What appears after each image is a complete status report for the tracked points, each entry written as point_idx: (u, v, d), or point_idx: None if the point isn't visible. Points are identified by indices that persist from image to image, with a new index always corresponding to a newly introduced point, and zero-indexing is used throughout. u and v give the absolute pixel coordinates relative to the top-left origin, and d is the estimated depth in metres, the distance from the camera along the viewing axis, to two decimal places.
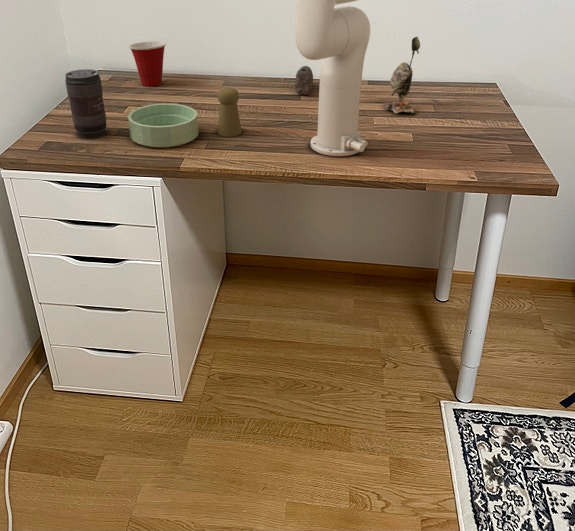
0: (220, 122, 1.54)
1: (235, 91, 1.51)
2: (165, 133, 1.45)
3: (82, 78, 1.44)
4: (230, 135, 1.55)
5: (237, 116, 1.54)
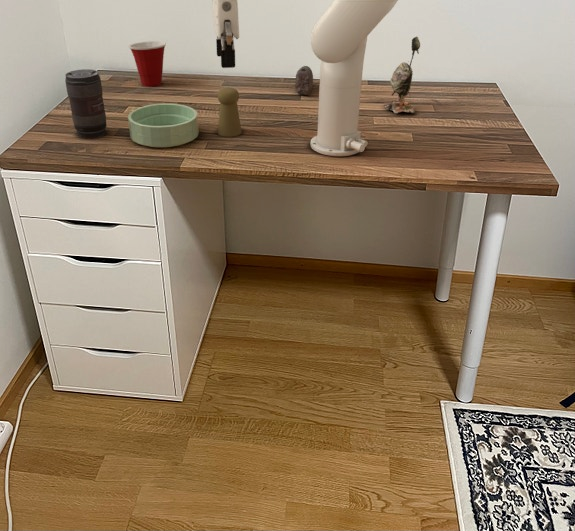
0: (220, 122, 1.54)
1: (235, 91, 1.51)
2: (165, 133, 1.45)
3: (82, 78, 1.44)
4: (230, 135, 1.55)
5: (237, 116, 1.54)
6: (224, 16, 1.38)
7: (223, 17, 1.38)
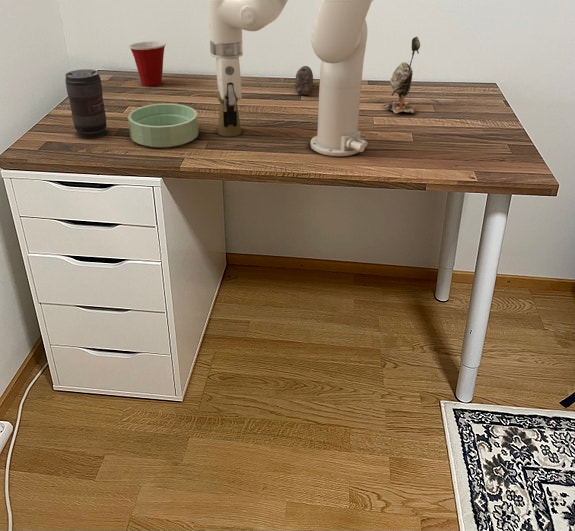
0: (220, 122, 1.54)
1: None
2: (165, 133, 1.45)
3: (82, 78, 1.44)
4: (230, 135, 1.55)
5: (237, 116, 1.54)
6: (227, 79, 1.45)
7: (226, 80, 1.45)
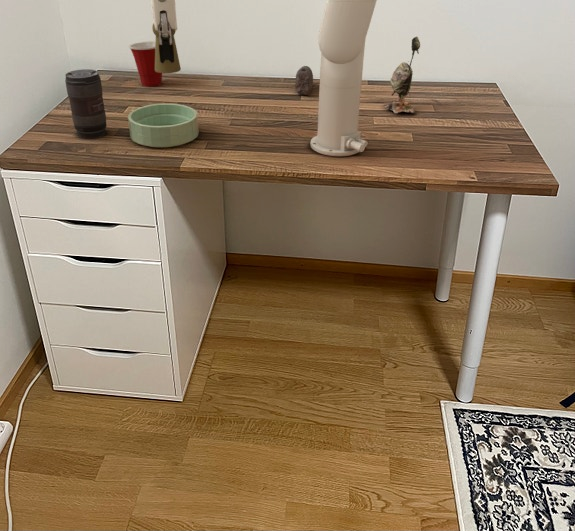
0: (156, 57, 1.43)
1: None
2: (165, 133, 1.45)
3: (82, 78, 1.44)
4: (167, 72, 1.43)
5: (174, 51, 1.43)
6: (160, 7, 1.34)
7: (159, 8, 1.34)
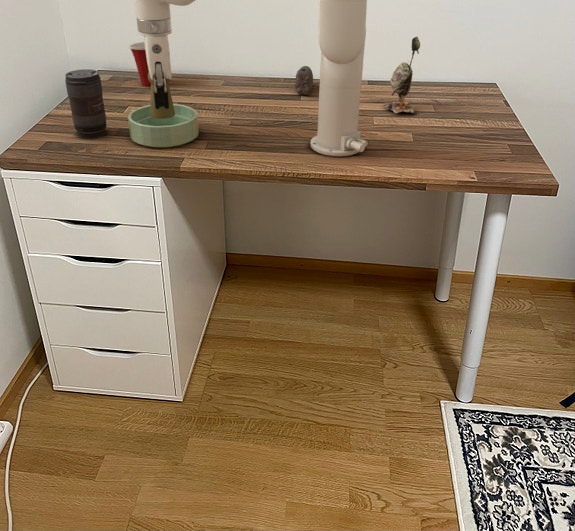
0: (151, 104, 1.48)
1: None
2: (165, 133, 1.45)
3: (82, 78, 1.44)
4: (162, 117, 1.49)
5: (169, 97, 1.48)
6: (155, 58, 1.39)
7: (154, 59, 1.39)
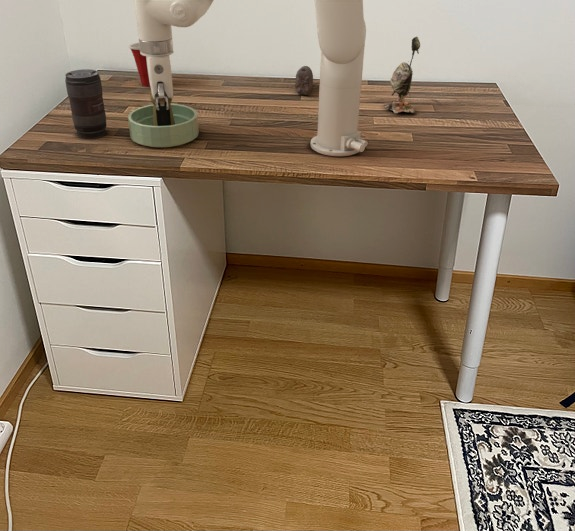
0: (154, 123, 1.51)
1: None
2: (165, 133, 1.45)
3: (82, 78, 1.44)
4: None
5: (171, 117, 1.51)
6: (157, 78, 1.42)
7: (156, 79, 1.42)
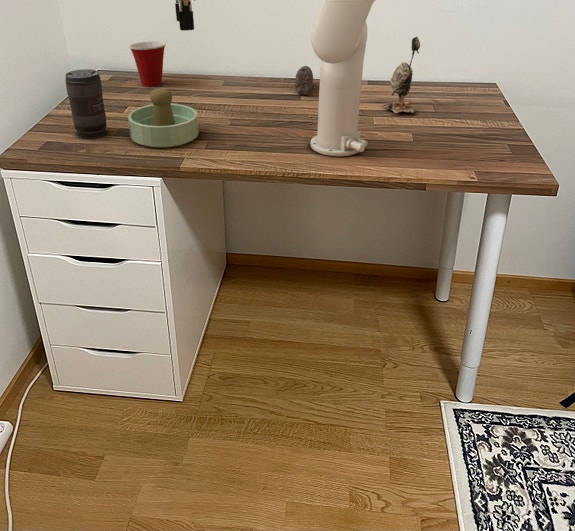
0: (154, 123, 1.51)
1: (168, 92, 1.48)
2: (165, 133, 1.45)
3: (82, 78, 1.44)
4: None
5: (171, 117, 1.51)
6: None
7: None
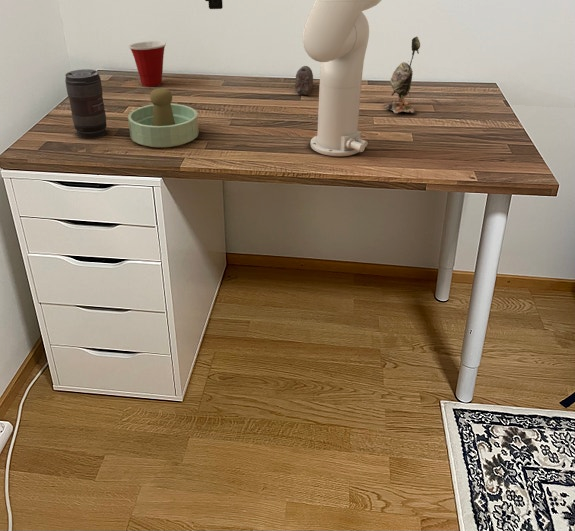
0: (154, 123, 1.51)
1: (168, 92, 1.48)
2: (165, 133, 1.45)
3: (82, 78, 1.44)
4: None
5: (171, 117, 1.51)
6: None
7: None
